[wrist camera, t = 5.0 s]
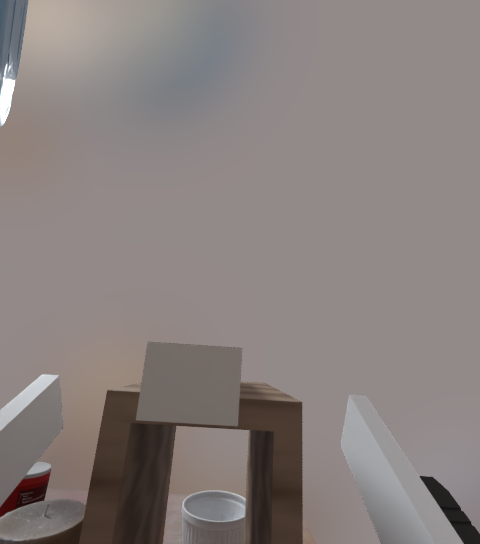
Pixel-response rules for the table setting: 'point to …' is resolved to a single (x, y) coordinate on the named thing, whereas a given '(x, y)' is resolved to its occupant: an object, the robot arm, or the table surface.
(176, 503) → the table surface
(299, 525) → the stand
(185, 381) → the bar
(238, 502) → the ramekin
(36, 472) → the canned food
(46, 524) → the pillar candle
